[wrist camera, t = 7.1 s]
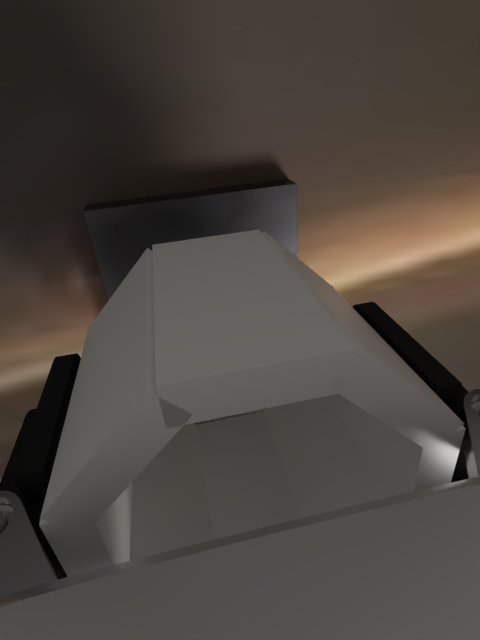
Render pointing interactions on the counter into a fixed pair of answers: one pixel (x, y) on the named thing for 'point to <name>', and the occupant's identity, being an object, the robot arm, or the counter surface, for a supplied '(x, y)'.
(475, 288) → the counter surface
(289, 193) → the duct stub
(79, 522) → the white hollow octagonal tube
